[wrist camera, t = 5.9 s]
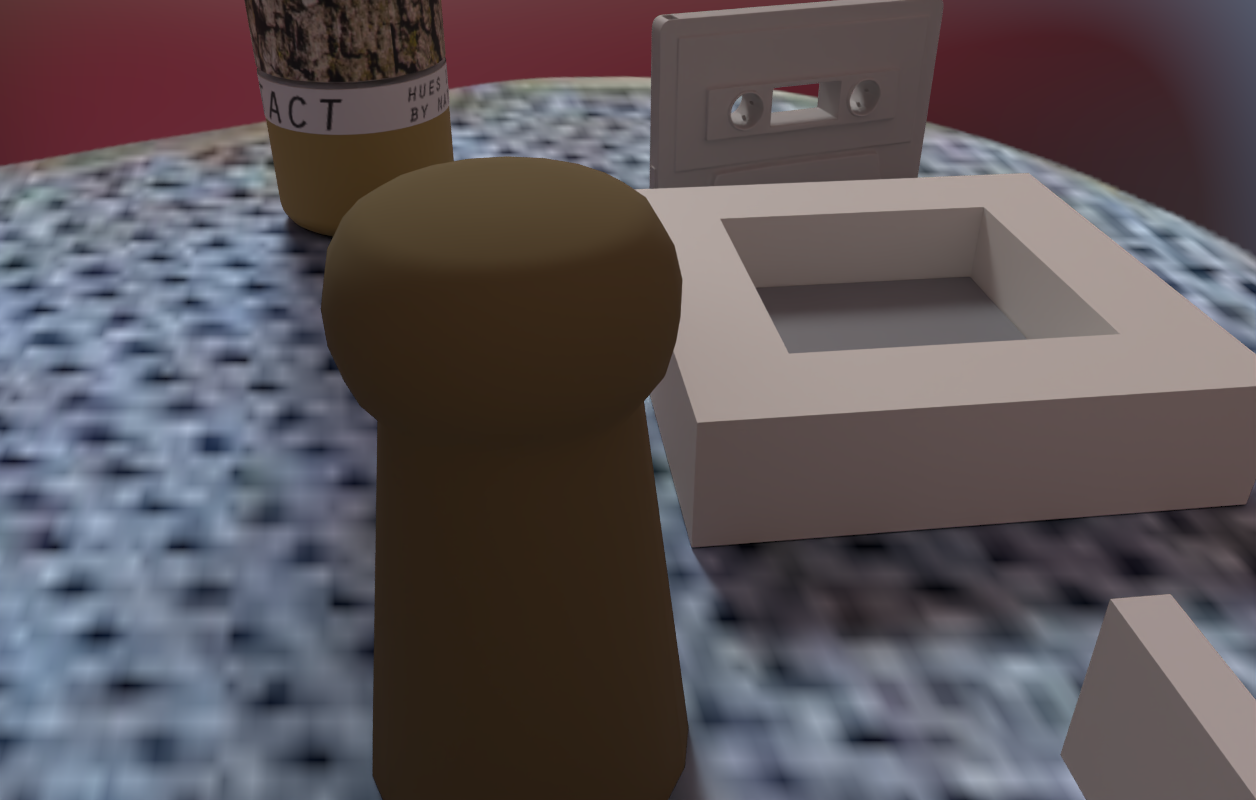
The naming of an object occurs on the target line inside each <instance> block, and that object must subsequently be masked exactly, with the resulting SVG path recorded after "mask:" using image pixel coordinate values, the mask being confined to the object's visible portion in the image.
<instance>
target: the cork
mask: <svg viewBox="0 0 1256 800" xmlns="http://www.w3.org/2000/svg"><path fill="white" fill-rule="evenodd" d="M682 282H683V279H682V275H681V271H680V266H679V262H678V258H677V253H676V249H675V245H674V243H673V242H672V240H671V238H670V236H669V235H668V233H667V231H666V229H665V228H664V226H663V224H662V223H661V221H660V219H659V218H658V216H657V214H656V213H655V211H654V210H653V208H652V206H651V205H650V203H649V201H648V200H647V198H646V197H645V196H643V195H642V194H640V193H639V192H637V191H636V190H634V189H633V188H631V187H630V186H628V185H627V184H625V183H623V182H622V181H620V180H618V179H616V178H614V177H612V176H610V175H608V174H606V173H604V172H601V171H598V170H595V169H592V168H589V167H586V166H583V165H580V164H575V163H569V162H563V161H557V160H551V159H546V158H527V157H491V158H474V159H465V160H459V161H453V162H447V163H442V164H436V165H431V166H428V167H425V168H422V169H418V170H415V171H412V172H409V173H406V174H402V175H400V176H398V177H396V178H394V179H393V180H391V181H389V182H387V183H385V184H383V185H382V186H380V187H378V188H376V189H375V190H373V191H371V192H370V193H368V194H367V195H365V196H364V197H362V198H360V199H359V200H358V201H357V202H356V203H355V204H354V205H353V207H352V208H351V209H350V210H349V211H348V212H347V213H346V214H345V215H344V217H343V218H342V220H341V222H340V224H339V226H338V228H337V230H336V232H335V234H334V236H333V238H332V240H331V242H330V244H329V246H328V248H327V255H326V264H325V274H324V283H323V293H322V303H321V313H322V318H323V324H324V329H325V335H326V340H327V346H328V348H329V350H330V352H331V355H332V357H333V359H334V361H335V363H336V365H337V367H338V369H339V371H340V373H341V376H342V378H343V380H344V382H345V383H346V385H347V386H348V388H349V389H350V391H351V392H352V394H353V396H354V397H355V399H356V400H357V402H358V403H359V405H360V406H361V407H362V408H363V409H365V410H366V411H367V412H368V413H369V414H370V415H372V416H373V417H374V418H375V419H376V420H377V487H376V553H375V618H374V684H373V774H372V775H373V778H374V780H375V782H376V785H377V787H378V789H379V792H380V794H381V796H382V798H383V800H668V799H669V797H670V795H671V793H672V791H673V789H674V787H675V785H676V783H677V781H678V779H679V777H680V775H681V773H682V771H683V769H684V767H685V759H686V748H687V737H688V721H687V713H686V706H685V699H684V691H683V684H682V677H681V669H680V662H679V655H678V647H677V640H676V633H675V625H674V618H673V611H672V603H671V596H670V589H669V581H668V574H667V567H666V559H665V552H664V545H663V537H662V530H661V523H660V515H659V508H658V501H657V493H656V486H655V479H654V471H653V464H652V457H651V449H650V442H649V435H648V427H647V420H646V413H645V406H644V400H645V399H646V398H647V397H648V396H649V395H650V393H651V392H652V391H653V390H654V389H655V388H656V386H657V385H658V384H659V383H660V382H661V381H662V379H663V378H664V377H665V375H666V372H667V369H668V366H669V363H670V360H671V356H672V353H673V350H674V347H675V344H676V340H677V334H678V329H679V323H680V317H681V301H682Z"/></svg>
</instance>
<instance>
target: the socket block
mask: <svg viewBox="0 0 1256 800" xmlns="http://www.w3.org/2000/svg"><path fill="white" fill-rule="evenodd" d="M636 191H637V192H639V193H640V194H642V195H643V196H645V197H646V198H647V200H648V201H649V203H650V205H651V206H652V208H653V210H654V211H655V213H656V214H657V216H658V218H659V219H660V221H661V223H662V224H663V226H664V228H665V229H666V231H667V233H668V235H669V236H670V238H671V240H672V242H673V243H674V245H675V249H676V253H677V258H678V262H679V266H680V271H681V275H682V279H683V282H682V301H681V317H680V323H679V329H678V334H677V340H676V344H675V347H674V350H673V353H672V356H671V360H670V363H669V366H668V369H667V372H666V375H665V377H664V378H663V379H662V381H661V382H660V383H659V384H658V385H657V386H656V388H655V389H654V390H653V391H652V392H651V393H650V397H651V400H652V404H653V408H654V411H655V415H656V419H657V422H658V426H659V430H660V434H661V437H662V441H663V445H664V448H665V452H666V456H667V459H668V463H669V467H670V470H671V474H672V478H673V481H674V485H675V489H676V492H677V496H678V500H679V503H680V507H681V511H682V514H683V518H684V522H685V525H686V529H687V533H688V536H689V540H690V544H691V547H704V546H717V545H730V544H743V543H756V542H768V541H781V540H794V539H807V538H820V537H833V536H845V535H858V534H871V533H884V532H897V531H909V530H922V529H935V528H948V527H961V526H973V525H986V524H999V523H1012V522H1025V521H1037V520H1050V519H1063V518H1076V517H1089V516H1102V515H1114V514H1127V513H1140V512H1153V511H1166V510H1178V509H1191V508H1204V507H1217V506H1230V505H1242V504H1246V503H1247V501H1248V498H1249V496H1250V493H1251V490H1252V488H1253V485H1254V483H1255V480H1256V354H1255V353H1254V352H1252V351H1251V350H1250V349H1248V348H1247V347H1246V346H1245V345H1243V344H1242V343H1241V342H1240V341H1238V340H1237V339H1236V338H1235V337H1233V336H1232V335H1231V334H1230V333H1228V332H1227V331H1226V330H1225V329H1223V328H1222V327H1221V326H1220V325H1218V324H1217V323H1216V322H1215V321H1213V320H1212V319H1211V318H1210V317H1208V316H1207V315H1206V314H1205V313H1203V312H1202V311H1201V310H1200V309H1198V308H1197V307H1196V306H1195V305H1193V304H1192V303H1191V302H1190V301H1188V300H1187V299H1186V298H1185V297H1183V296H1182V295H1181V294H1179V293H1178V292H1177V291H1176V290H1174V289H1173V288H1172V287H1171V286H1169V285H1168V284H1167V283H1166V282H1164V281H1163V280H1162V279H1161V278H1159V277H1158V276H1157V275H1156V274H1154V273H1153V272H1152V271H1151V270H1149V269H1148V268H1147V267H1146V266H1144V265H1143V264H1142V263H1141V262H1139V261H1138V260H1137V259H1136V258H1134V257H1133V256H1132V255H1131V254H1129V253H1128V252H1127V251H1126V250H1124V249H1123V248H1122V247H1121V246H1119V245H1118V244H1117V243H1116V242H1114V241H1113V240H1112V239H1110V238H1109V237H1108V236H1107V235H1105V234H1104V233H1103V232H1102V231H1100V230H1099V229H1098V228H1097V227H1095V226H1094V225H1093V224H1092V223H1090V222H1089V221H1088V220H1087V219H1085V218H1084V217H1083V216H1082V215H1080V214H1079V213H1078V212H1077V211H1075V210H1074V209H1073V208H1072V207H1070V206H1069V205H1068V204H1067V203H1065V202H1064V201H1063V200H1062V199H1060V198H1059V197H1058V196H1057V195H1055V194H1054V193H1053V192H1052V191H1050V190H1049V189H1048V188H1047V187H1045V186H1044V185H1043V184H1041V183H1040V182H1039V181H1038V180H1036V179H1035V178H1034V177H1033V176H1031V175H1030V174H1029V173H1021V174H997V175H973V176H949V177H925V178H901V179H877V180H853V181H829V182H804V183H780V184H756V185H732V186H708V187H684V188H660V189H636Z"/></svg>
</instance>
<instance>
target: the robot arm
mask: <svg viewBox="0 0 1256 800" xmlns="http://www.w3.org/2000/svg"><path fill="white" fill-rule="evenodd" d="M1060 755H1061V756H1062V758H1063V760H1064V762H1065V763H1066V765H1067V767H1068V769H1069V771H1070V772H1071V774H1072V776H1073V778H1074V779H1075V781H1076V783H1077V785H1078V786H1079V788H1080V790H1081V792H1082V793H1083V795H1084V797H1085V799H1086V800H1256V700H1255V699H1254V697H1253V696H1252V695H1251V694H1250V692H1249V691H1248V690H1247V689H1246V687H1245V686H1244V685H1243V684H1242V682H1241V681H1240V680H1239V679H1238V677H1237V676H1236V675H1235V674H1234V672H1233V671H1232V670H1231V669H1230V667H1229V666H1228V665H1227V664H1226V662H1225V661H1224V660H1223V659H1222V657H1221V656H1220V655H1219V654H1218V652H1217V651H1216V650H1215V649H1214V648H1213V646H1212V645H1211V644H1210V643H1209V641H1208V640H1207V639H1206V638H1205V636H1204V635H1203V634H1202V633H1201V631H1200V630H1199V629H1198V628H1197V626H1196V625H1195V624H1194V623H1193V621H1192V620H1191V619H1190V618H1189V616H1188V615H1187V614H1186V613H1185V611H1184V610H1183V609H1182V608H1181V606H1180V605H1179V604H1178V603H1177V601H1176V600H1175V599H1174V598H1173V596H1172V595H1171V594H1164V595H1152V596H1141V597H1129V598H1117V599H1110V602H1109V605H1108V608H1107V611H1106V614H1105V617H1104V620H1103V623H1102V627H1101V630H1100V633H1099V636H1098V639H1097V642H1096V645H1095V648H1094V651H1093V655H1092V658H1091V661H1090V664H1089V667H1088V670H1087V673H1086V676H1085V680H1084V683H1083V686H1082V689H1081V692H1080V695H1079V698H1078V701H1077V705H1076V708H1075V711H1074V714H1073V717H1072V720H1071V723H1070V726H1069V730H1068V733H1067V736H1066V739H1065V742H1064V745H1063V748H1062V751H1061V754H1060Z"/></svg>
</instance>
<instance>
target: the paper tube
mask: <svg viewBox="0 0 1256 800" xmlns="http://www.w3.org/2000/svg"><path fill="white" fill-rule="evenodd" d="M245 5H246V11H247V17H248V23H249V28H250V34H251V39H252V45H253V51H254V57H255V62H256V66H257V67H258V68H257V74H258V79H259V85H260V91H261V97H262V102H263V108H264V114H265V117H266V121H267V127H268V132H269V138H270V144H271V150H272V155H273V161H274V167H275V172H276V178H277V184H278V190H279V195H280V201H281V204H282V207H283V210H284V211H285V213H286V214H287V215H288V216H289V217H290V218H291V219H292V220H293V221H294V222H295V223H296V224H298V225H299V226H301V227H303V228H305V229H308V230H310V231H313V232H316V233H319V234H323V235H328V236H334V234H335V232H336V230H337V228H338V226H339V224H340V222H341V220H342V218H343V217H344V215H345V214H346V213H347V212H348V211H349V210H350V209H351V208H352V207H353V205H354V204H355V203H356V202H357V201H358V200H359V199H360V198H362V197H364V196H365V195H367V194H368V193H370V192H371V191H373V190H375V189H376V188H378V187H380V186H382V185H383V184H385V183H387V182H389V181H391V180H393V179H394V178H396V177H398V176H400V175H402V174H406V173H409V172H412V171H415V170H418V169H422V168H425V167H428V166H431V165H436V164H442V163H447V162H453V161H454V159H453V147H452V135H451V123H450V111H449V91H448V79H447V67H446V58H445V43H444V32H443V19H442V8H441V0H245Z"/></svg>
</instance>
